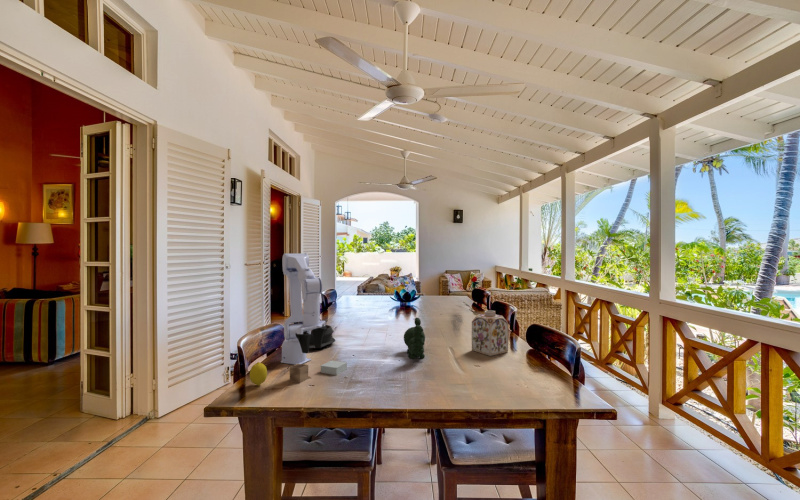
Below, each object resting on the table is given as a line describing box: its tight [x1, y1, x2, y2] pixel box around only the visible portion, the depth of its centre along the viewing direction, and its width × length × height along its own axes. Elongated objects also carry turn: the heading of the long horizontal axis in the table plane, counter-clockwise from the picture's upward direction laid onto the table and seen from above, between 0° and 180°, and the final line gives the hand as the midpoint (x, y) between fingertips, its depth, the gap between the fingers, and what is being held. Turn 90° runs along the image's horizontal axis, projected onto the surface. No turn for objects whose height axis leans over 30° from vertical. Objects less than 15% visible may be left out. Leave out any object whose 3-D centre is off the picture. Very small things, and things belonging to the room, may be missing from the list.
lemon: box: [249, 361, 268, 387], centre depth 131 cm, size 6×6×8 cm
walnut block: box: [289, 363, 309, 384], centre depth 137 cm, size 4×4×5 cm
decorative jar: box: [471, 309, 509, 357], centre depth 173 cm, size 12×12×18 cm
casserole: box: [309, 324, 336, 349], centre depth 184 cm, size 25×19×8 cm
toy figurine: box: [403, 317, 426, 360], centre depth 167 cm, size 9×19×25 cm
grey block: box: [320, 359, 348, 376], centre depth 146 cm, size 7×7×3 cm
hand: (311, 350), depth 139 cm, fingers open, 7 cm apart
